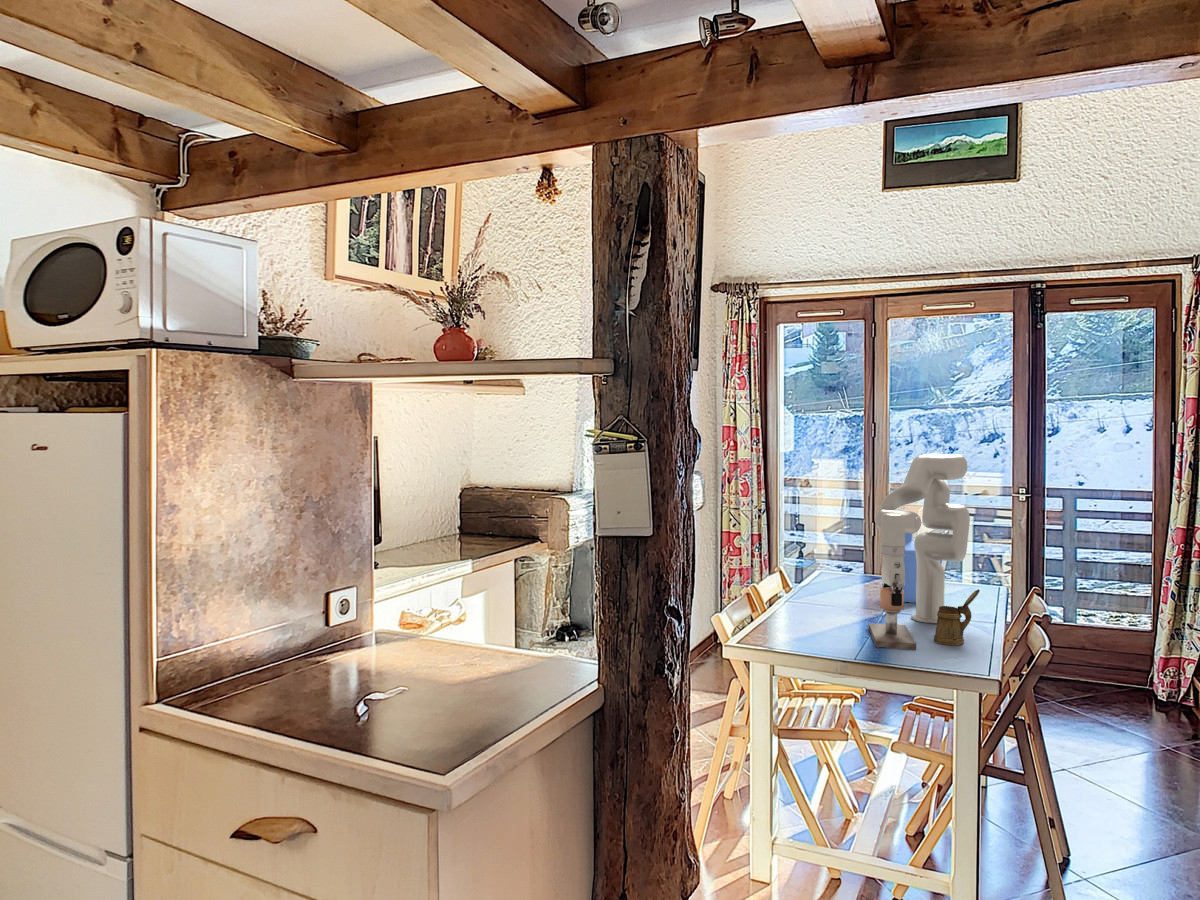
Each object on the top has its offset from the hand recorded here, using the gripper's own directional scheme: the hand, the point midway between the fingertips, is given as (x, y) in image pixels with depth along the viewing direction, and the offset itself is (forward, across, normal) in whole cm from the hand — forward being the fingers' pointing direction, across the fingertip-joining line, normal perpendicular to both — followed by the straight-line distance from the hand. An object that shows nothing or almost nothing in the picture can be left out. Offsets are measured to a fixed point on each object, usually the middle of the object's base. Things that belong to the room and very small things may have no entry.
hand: (891, 602), depth 276 cm
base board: (+12, 0, 0) cm, 12 cm away
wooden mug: (+12, -4, -20) cm, 24 cm away
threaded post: (+10, 0, 0) cm, 10 cm away
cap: (+2, 0, 0) cm, 2 cm away
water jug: (+12, +62, -26) cm, 69 cm away
